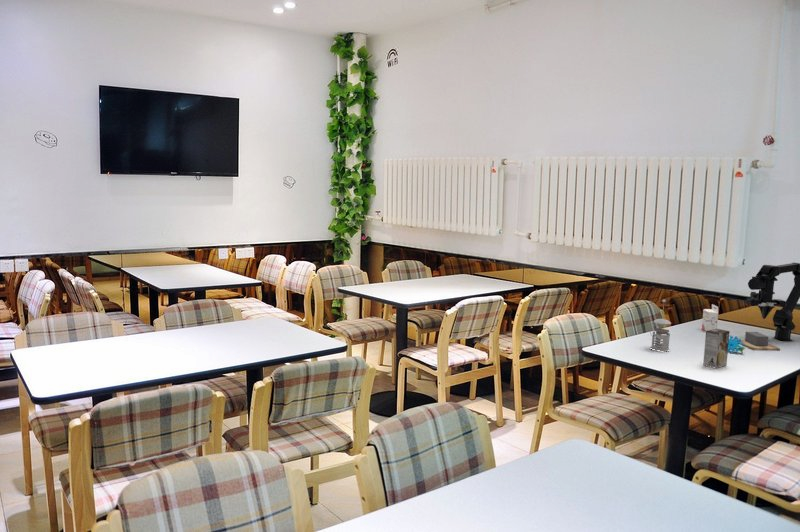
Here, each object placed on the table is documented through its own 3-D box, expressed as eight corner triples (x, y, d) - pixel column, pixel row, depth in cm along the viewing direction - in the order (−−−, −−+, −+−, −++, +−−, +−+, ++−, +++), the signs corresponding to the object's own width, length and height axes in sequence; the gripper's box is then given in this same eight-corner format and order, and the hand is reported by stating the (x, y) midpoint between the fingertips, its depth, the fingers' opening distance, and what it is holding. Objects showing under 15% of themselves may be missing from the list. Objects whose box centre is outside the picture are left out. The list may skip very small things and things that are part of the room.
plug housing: (756, 341, 339) (757, 331, 338) (767, 346, 329) (768, 336, 328) (744, 341, 339) (745, 331, 338) (756, 346, 329) (757, 336, 328)
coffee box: (713, 362, 301) (716, 328, 299) (726, 365, 296) (730, 331, 293) (702, 365, 295) (705, 330, 293) (716, 368, 290) (719, 333, 288)
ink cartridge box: (700, 329, 367) (703, 303, 365) (709, 329, 367) (712, 303, 365) (707, 332, 359) (710, 306, 357) (716, 333, 359) (719, 306, 357)
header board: (758, 341, 343) (759, 334, 343) (779, 350, 325) (780, 343, 325) (732, 340, 342) (733, 334, 342) (752, 350, 325) (753, 343, 324)
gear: (715, 347, 322) (726, 332, 324) (718, 353, 325) (729, 338, 328) (737, 355, 313) (748, 339, 316) (740, 362, 317) (751, 346, 319)
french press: (659, 352, 314) (663, 301, 311) (642, 346, 325) (646, 297, 322) (675, 351, 318) (679, 300, 315) (657, 345, 329) (661, 296, 325)
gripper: (775, 287, 349) (772, 315, 351) (741, 286, 348) (738, 314, 350) (788, 290, 338) (784, 320, 340) (753, 289, 337) (749, 319, 339)
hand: (763, 318), depth 342 cm, fingers closed
